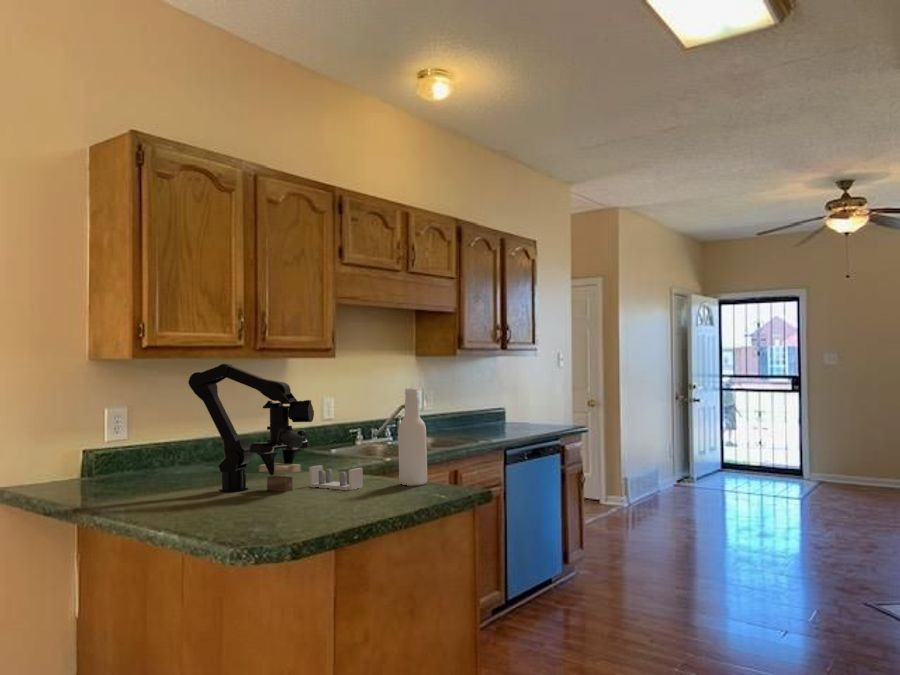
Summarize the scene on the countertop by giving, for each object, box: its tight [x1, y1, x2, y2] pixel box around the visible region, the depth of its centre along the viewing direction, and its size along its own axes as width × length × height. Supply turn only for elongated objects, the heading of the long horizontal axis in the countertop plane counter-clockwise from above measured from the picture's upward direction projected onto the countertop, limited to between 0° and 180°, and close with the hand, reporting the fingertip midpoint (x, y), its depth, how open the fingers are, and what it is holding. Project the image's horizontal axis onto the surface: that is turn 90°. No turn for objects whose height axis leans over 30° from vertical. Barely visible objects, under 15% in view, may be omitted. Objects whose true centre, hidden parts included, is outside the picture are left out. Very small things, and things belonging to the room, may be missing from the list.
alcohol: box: [397, 387, 428, 487], centre depth 218 cm, size 9×9×30 cm
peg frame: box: [308, 464, 364, 491], centre depth 216 cm, size 7×18×6 cm, turn 56°
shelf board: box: [258, 462, 302, 474], centre depth 213 cm, size 6×12×2 cm, turn 56°
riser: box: [266, 475, 293, 493], centre depth 212 cm, size 3×8×4 cm, turn 56°
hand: (279, 473), depth 212 cm, fingers closed on shelf board, 6 cm apart
